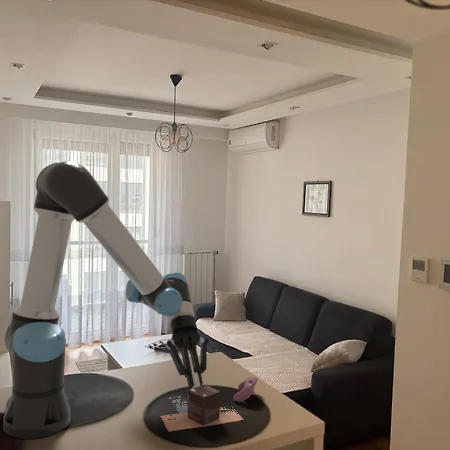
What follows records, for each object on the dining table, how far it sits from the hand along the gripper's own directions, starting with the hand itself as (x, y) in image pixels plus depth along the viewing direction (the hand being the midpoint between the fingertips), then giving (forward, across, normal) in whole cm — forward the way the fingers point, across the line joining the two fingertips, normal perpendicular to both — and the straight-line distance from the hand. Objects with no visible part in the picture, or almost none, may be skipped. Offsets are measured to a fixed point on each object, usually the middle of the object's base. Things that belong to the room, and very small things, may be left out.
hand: (198, 398), depth 124 cm
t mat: (+2, 0, -3) cm, 3 cm away
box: (+6, 0, +1) cm, 6 cm away
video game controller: (0, -16, -6) cm, 17 cm away
